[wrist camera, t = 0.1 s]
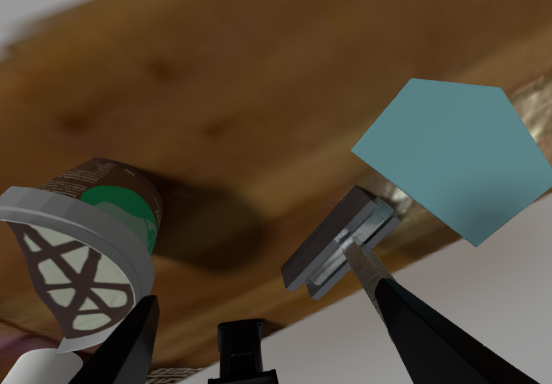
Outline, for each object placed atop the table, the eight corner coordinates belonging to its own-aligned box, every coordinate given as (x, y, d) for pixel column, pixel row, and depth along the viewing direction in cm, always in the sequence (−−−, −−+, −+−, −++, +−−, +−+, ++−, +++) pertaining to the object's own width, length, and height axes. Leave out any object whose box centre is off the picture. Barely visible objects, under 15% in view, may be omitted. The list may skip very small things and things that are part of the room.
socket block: (416, 201, 28) (475, 247, 21) (350, 150, 23) (400, 188, 16) (471, 148, 26) (559, 180, 19) (411, 78, 21) (500, 87, 14)
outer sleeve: (310, 279, 32) (318, 300, 29) (280, 268, 30) (285, 289, 27) (384, 205, 28) (401, 221, 25) (355, 185, 25) (370, 200, 23)
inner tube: (320, 274, 30) (373, 400, 19) (301, 266, 28) (346, 396, 17) (389, 204, 26) (506, 311, 15) (371, 192, 25) (485, 299, 14)
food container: (179, 252, 26) (155, 348, 17) (117, 254, 25) (58, 358, 16) (172, 146, 20) (129, 210, 12) (90, 140, 19) (-26, 207, 10)
